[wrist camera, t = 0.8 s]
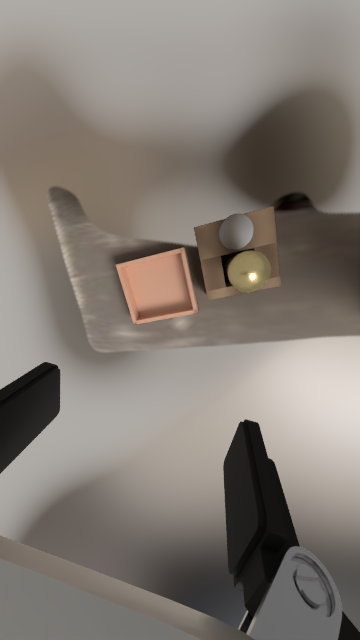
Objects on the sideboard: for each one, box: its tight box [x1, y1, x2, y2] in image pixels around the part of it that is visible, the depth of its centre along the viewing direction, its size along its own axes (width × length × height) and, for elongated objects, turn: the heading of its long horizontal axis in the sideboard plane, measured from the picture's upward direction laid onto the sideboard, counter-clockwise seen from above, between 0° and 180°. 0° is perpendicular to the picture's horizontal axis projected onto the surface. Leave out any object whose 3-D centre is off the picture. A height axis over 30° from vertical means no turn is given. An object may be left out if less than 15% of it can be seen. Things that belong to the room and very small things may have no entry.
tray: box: [116, 247, 199, 325], centre depth 32 cm, size 11×10×2 cm
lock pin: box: [225, 251, 271, 292], centre depth 26 cm, size 4×4×11 cm
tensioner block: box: [194, 206, 281, 300], centre depth 28 cm, size 10×10×6 cm
